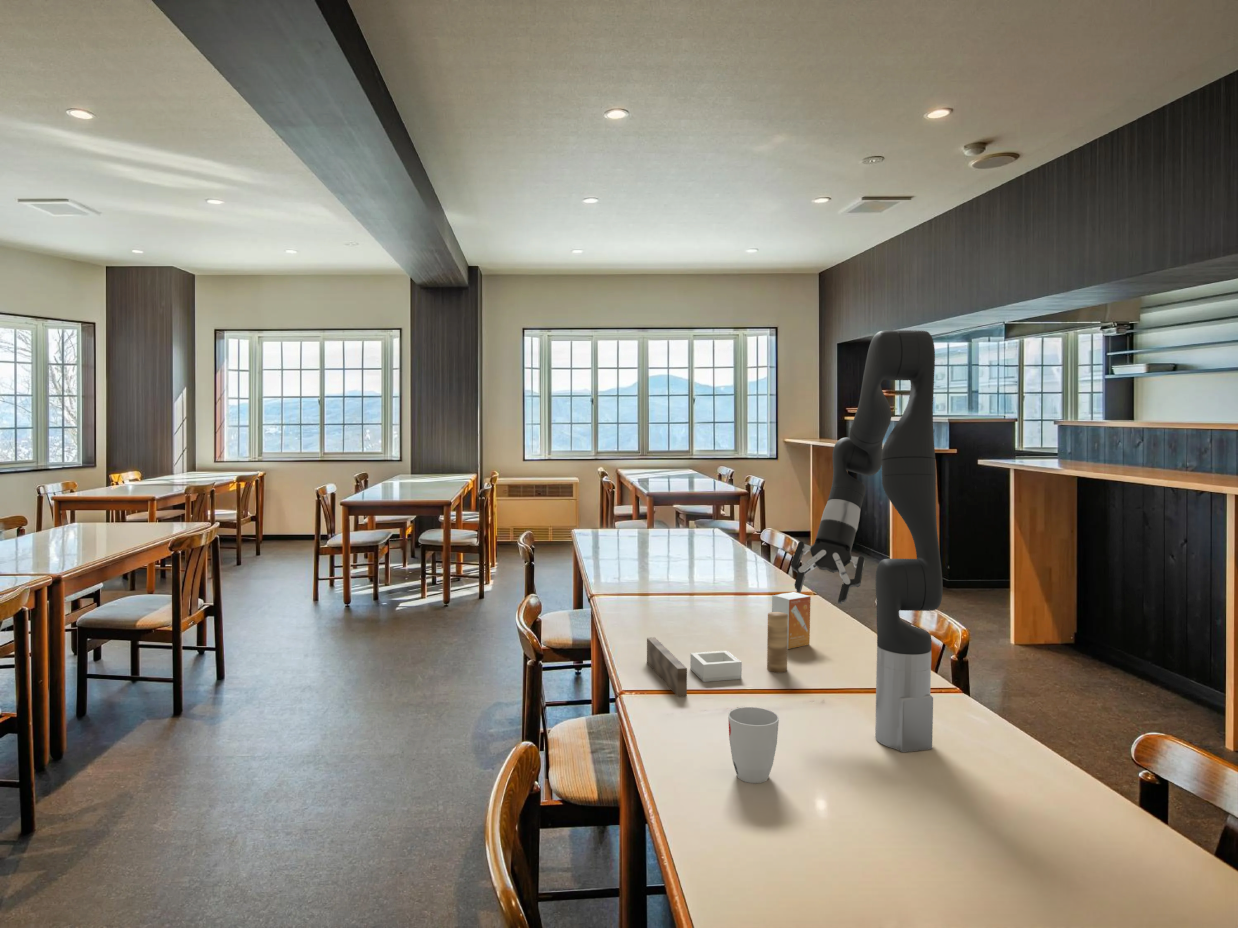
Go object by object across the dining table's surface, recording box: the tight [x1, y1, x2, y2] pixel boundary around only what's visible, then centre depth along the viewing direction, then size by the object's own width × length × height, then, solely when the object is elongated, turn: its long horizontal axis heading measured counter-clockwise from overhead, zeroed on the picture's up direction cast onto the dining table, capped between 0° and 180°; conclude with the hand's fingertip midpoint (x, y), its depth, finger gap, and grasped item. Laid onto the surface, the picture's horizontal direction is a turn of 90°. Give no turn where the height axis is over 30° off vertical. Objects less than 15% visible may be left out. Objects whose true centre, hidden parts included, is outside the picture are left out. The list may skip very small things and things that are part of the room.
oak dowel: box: [766, 611, 788, 674], centre depth 177 cm, size 4×4×14 cm
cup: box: [727, 706, 780, 784], centre depth 126 cm, size 8×8×10 cm
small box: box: [771, 591, 811, 650], centre depth 202 cm, size 8×6×13 cm
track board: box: [646, 636, 688, 698], centre depth 173 cm, size 24×20×7 cm
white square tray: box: [689, 650, 743, 683], centre depth 174 cm, size 9×9×4 cm
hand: (818, 597), depth 158 cm, fingers open, 8 cm apart
